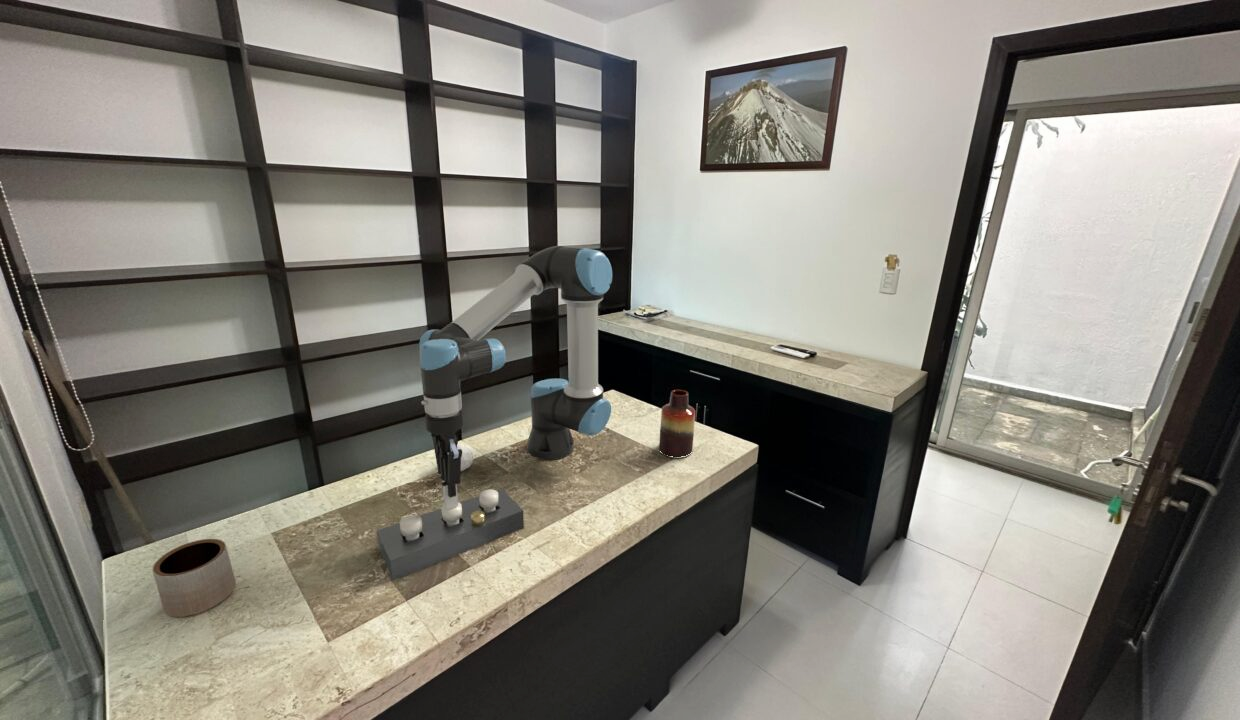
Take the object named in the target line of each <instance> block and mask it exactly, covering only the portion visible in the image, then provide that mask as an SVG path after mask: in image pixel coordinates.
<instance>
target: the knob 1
mask: <svg viewBox="0 0 1240 720" xmlns="http://www.w3.org/2000/svg"><path fill="white" fill-rule="evenodd" d="M420 516H421V515H418V514H411V515H407V516H404V517H403V518H401V520H399V523H400V529H401V534H402V535H403V536H405V537H406V542H409V541H412V540H414V539H417V538H420V537H419V533H420V532H421V531H422V519H421V517H420Z"/></svg>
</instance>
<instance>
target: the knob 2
mask: <svg viewBox="0 0 1240 720" xmlns="http://www.w3.org/2000/svg"><path fill="white" fill-rule="evenodd" d="M496 490H497V489H496ZM496 490H495V489H485V490H483V491H481V492H480V493H479V495H478V496H479V499H480V506H481V507H482V508H484V513H485V514H486V513H489V512H492V511H494V510H496V508H495V506H497V505H498V503H499V500H498V492H497V491H496Z"/></svg>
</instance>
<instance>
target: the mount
mask: <svg viewBox="0 0 1240 720" xmlns="http://www.w3.org/2000/svg"><path fill="white" fill-rule="evenodd" d="M496 491H497V492H498V500H499V503H498V505H497V506H495V508H496V510H494V511H492V512H489V513H486V514H485V513H484V515H485V522H484V524H482V525H480V526H474V525H472V523H471V514H472V513H473V512H475V511H483V512H484V508H482V507H481V506H480V499H479V495H478V496H474V497H472V498H471V497H470V498H469V499H465V500H463V501H460V502H459V501H458V502H459V503H461V505H462V517H461V518H460V519H459V524H456V525H453V526H450V527H447V523H446V521H444V520H443V519H442V509H441V508H439V509H436V510H433V511H429V512H426V513H424V514H421V515H419V516H420V517H421V519H422V531H421V532H420V533H419V537H420V538H417V539H414V540H412V541H409V542H406V537H405V536H403V535H402V534H401V529H400V522H397V523H395V524H392V525H389V526H386V527H382V528H380V529H377V530H376V538H377V544H378V545H377V546H378V550H379V553H380V555H381V557H382V560H383V562H384V564H385V566H386V569H387V571H388V573H389V575H390V577H391V580H392V581H396V580H399V579H401V578H403V577H406V576H408V575H411V574H413V573H416V572H418V571H421V570H423V569H425V568H428V567H431V566H433V565H436V564H438V563H440V562H443V561H445V560H448V559H451V558H453V557H455V556H458V555H460V554H463V553H467V552H468V551H470V550H473V549H475V548H478V547H480V546H483V545H485V544H487V543H488V544H489V543H491V542H493V541H495V540H498V539H501V538H503V537H506V536H509V535H510V534H513V533H516V532H517V531H520V530H523V529H524V528H525V526H524V525H525V523H524V522H525V520H524V516H525V515H524V510H523V509H522V508H521V506H519V504H518V503H517V502H516V501H515V500H514V499H513V498H512V497H511V495H509V494H508V493H507V492H506V491H505V490H504V488H499V489H496Z"/></svg>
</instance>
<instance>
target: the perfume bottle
mask: <svg viewBox="0 0 1240 720" xmlns="http://www.w3.org/2000/svg"><path fill="white" fill-rule="evenodd" d="M458 449H461V450H462V456H461V472H464V471H465V470H466V469H468V468H470V467H471V465H472V463H473V460H474V453H473V450H472V449H471V448H470V447H469V446H467V445H466V444H463V443H458V444H457V450H458Z"/></svg>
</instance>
